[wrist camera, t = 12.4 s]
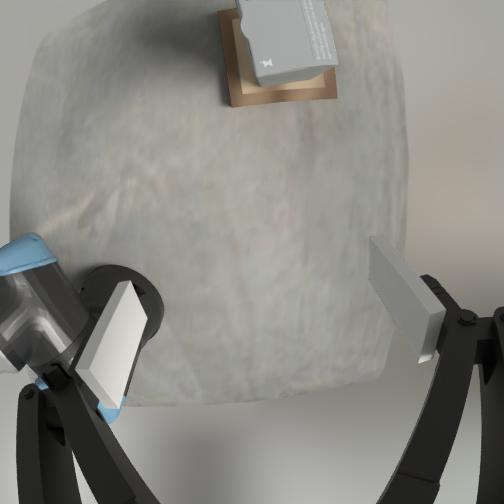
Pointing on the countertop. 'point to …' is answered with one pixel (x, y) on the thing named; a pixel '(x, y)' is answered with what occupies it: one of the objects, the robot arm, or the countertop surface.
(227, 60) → the tan flat square board
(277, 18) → the skincare box
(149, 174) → the countertop surface
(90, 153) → the countertop surface
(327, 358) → the countertop surface
